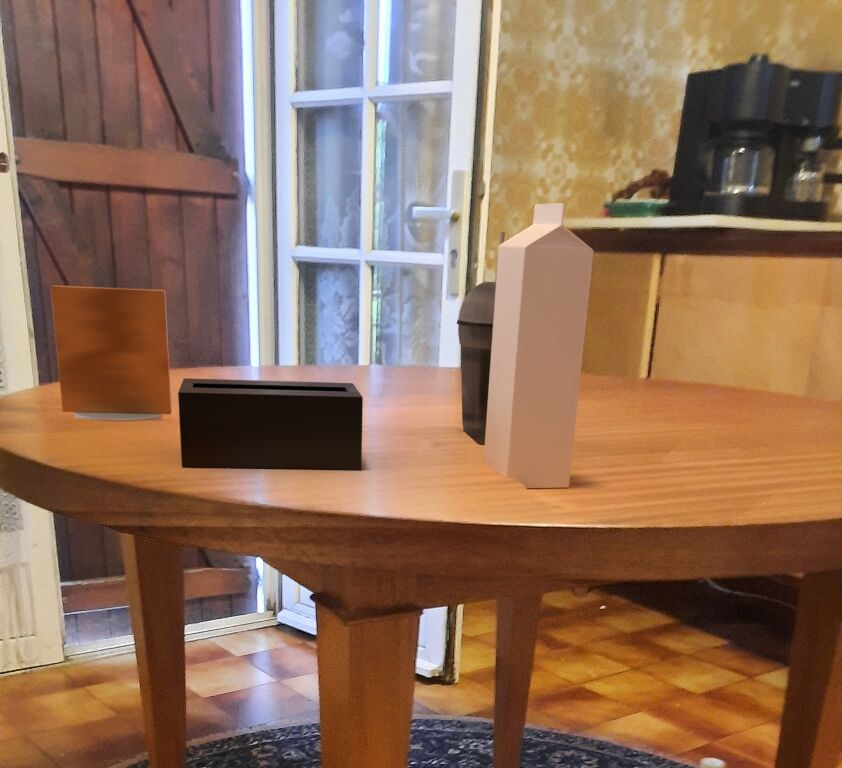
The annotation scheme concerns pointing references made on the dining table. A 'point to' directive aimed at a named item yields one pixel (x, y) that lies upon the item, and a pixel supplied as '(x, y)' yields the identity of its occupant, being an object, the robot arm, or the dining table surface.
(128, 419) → the plate
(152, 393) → the toast
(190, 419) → the toaster
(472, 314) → the beverage cup
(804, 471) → the dining table surface
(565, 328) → the milk
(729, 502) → the dining table surface
